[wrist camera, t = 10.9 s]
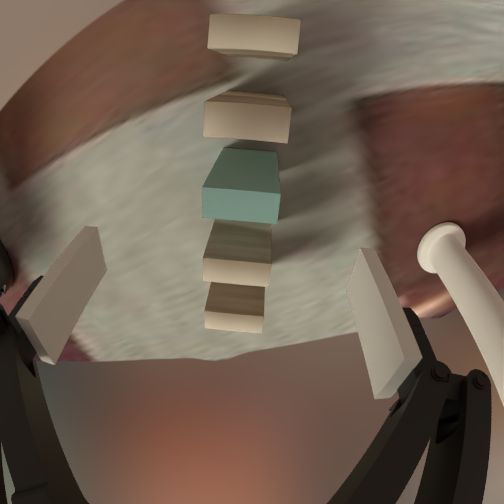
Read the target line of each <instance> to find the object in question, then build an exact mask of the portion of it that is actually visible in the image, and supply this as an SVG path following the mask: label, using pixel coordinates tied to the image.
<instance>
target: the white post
mask: <svg viewBox="0 0 504 504" xmlns="http://www.w3.org/2000/svg"><path fill="white" fill-rule="evenodd" d="M465 244H466V238H465V234H464V232H463V230H462V229H461V228H460V227H459V226H458V225H456V224H454V223H451V222H445V223H441V224H438V225H436V226H434V227H433V228H431V229H430V230H429V231H428V232H427V233H426V234H425V235H424V237H423V238H422V240H421V242H420V244H419V247H418V251H417V258H418V261H419V264H420V265H421V267H422V268H423V269H424V270H425V271H427V272H430V273H438V275H439V277H440V278H441V280H442V282H443V283H444V285H445V286H446V288H447V290H448V292H449V293H450V295H451V297H452V298H453V300H454V302H455V304H456V305H457V307H458V309H459V311H460V313H461V314H462V316H463V318H464V320H465V322H466V323H467V326H468V328H469V329H470V331H471V333H472V335H473V337H474V339H475V341H476V343H477V345H478V348H479V350H480V352H481V354H482V356H483V358H484V360H485V362H486V364H487V367H488V369H489V371H490V373H491V376H492V378H493V381H494V383H495V386H496V388H497V390H498V393H499V395H500V398H501V401H502V403H503V406H504V302H503V300H502V299H501V297H500V296H499V294H498V293H497V291H496V290H495V288H494V287H493V285H492V284H491V283H490V281H489V280H488V278H487V277H486V276H485V274H484V273H483V272H482V270H481V269H480V268H479V266H478V265H477V264H476V262H475V261H474V260H473V258H472V257H471V256H470V255H469V253H468V252H467V251H466V250H465Z"/></svg>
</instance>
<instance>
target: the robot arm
mask: <svg viewBox="0 0 504 504" xmlns="http://www.w3.org/2000/svg"><path fill="white" fill-rule="evenodd" d="M106 271H107V268H106V264H105V260H104V255H103V251H102V246H101V242H100V237H99V232H98V227H91V226H85V227H84V228H83V229H82V231H81V232H80V233H79V234H78V235H77V236H76V237H75V239H74V240H73V241H72V242H71V243H70V244H69V246H68V247H67V248H66V249H65V250H64V252H63V253H62V254H61V255H60V256H59V258H58V259H57V260H56V261H55V263H54V264H53V265H52V266H51V268H50V269H49V270H48V272H47V273H46V274H45V275H44V276H40V277H39V278H37V279H36V280H35V281H33V282H32V284H31V285H30V286H29V288H28V289H27V291H26V292H25V293H24V295H23V297H21V299H20V300H19V301H18V303H17V304H16V306H15V307H14V309H13V310H12V311H11V313H10V314H9V316H8V315H7V313H6V312H5V310H4V308H3V306H2V305H1V304H0V504H7V498H6V491H5V484H4V477H3V468H2V454H1V442H2V446H3V450H4V454H5V458H6V461H7V465H8V468H9V471H10V474H11V477H12V481H13V483H14V487H15V493H14V494H13V495H12V497H11V501H12V504H89V503H88V502H87V501H86V499H85V498H84V496H83V494H82V492H81V490H80V489H79V486H78V484H77V482H76V480H75V478H74V476H73V474H72V471H71V469H70V467H69V464H68V462H67V460H66V457H65V455H64V452H63V450H62V447H61V445H60V442H59V439H58V437H57V434H56V431H55V428H54V425H53V422H52V419H51V416H50V413H49V410H48V407H47V403H46V400H45V396H44V393H43V389H42V385H41V382H40V377H39V373H38V369H37V364H36V362H35V359H34V356H35V354H36V353H37V354H38V356H39V357H40V359H41V360H42V361H44V362H47V363H50V364H53V365H55V363H56V362H57V359H58V357H59V355H60V353H61V351H62V349H63V347H64V345H65V343H66V342H67V340H68V338H69V336H70V334H71V332H72V330H73V328H74V326H75V324H76V323H77V321H78V319H79V317H80V315H81V313H82V312H83V310H84V308H85V306H86V305H87V303H88V301H89V299H90V298H91V296H92V294H93V292H94V291H95V289H96V287H97V286H98V284H99V282H100V281H101V279H102V277H103V276H104V274H105V273H106ZM13 280H14V274H13V268H12V265H11V262H10V259H9V257H8V255H7V252H6V250H5V249H4V247H3V245H2V244H1V242H0V297H1V296H3V295H4V294H5V293H6V292H7V291H8V290H9V288H10V287H11V286H12V284H13ZM346 292H347V295H348V299H349V302H350V305H351V309H352V312H353V316H354V319H355V323H356V326H357V330H358V334H359V337H360V341H361V345H362V349H363V352H364V356H365V360H366V365H367V368H368V372H369V377H370V381H371V385H372V390H373V394H374V399H382V398H391V397H392V396H393V395H394V393H395V392H396V391H397V390H398V394H399V399H398V400H397V401H396V402H395V404H394V405H393V406H392V407H391V408H390V409H389V411H391V412H390V413H389V415H388V417H387V419H386V421H385V422H384V424H383V425H382V427H381V429H380V430H379V432H378V434H377V435H376V437H375V438H374V440H373V441H372V443H371V445H370V446H369V448H368V449H367V451H366V452H365V454H364V455H363V457H362V458H361V460H360V461H359V462H358V464H357V465H356V467H355V468H354V469H353V471H352V472H351V474H350V475H349V476H348V478H347V479H346V480H345V482H344V483H343V484H342V485H341V487H340V488H339V489H338V491H337V492H336V493H335V494H334V496H333V497H332V498H331V499H330V500H329V502H328V503H327V504H395V503H396V502H397V500H398V499H399V497H400V495H401V493H402V492H403V490H404V489H405V487H406V485H407V483H408V481H409V480H410V478H411V476H412V474H413V472H414V470H415V468H416V466H417V465H418V463H419V461H420V459H421V457H422V455H423V453H424V450H425V448H426V446H427V444H428V442H429V440H430V443H429V448H428V453H427V458H426V463H425V466H424V470H423V474H422V478H421V482H420V486H419V489H418V493H417V496H416V499H415V502H414V504H482V501H483V495H484V490H485V484H486V477H487V469H488V460H489V451H490V437H491V383H490V380H489V378H488V376H487V375H486V374H485V373H484V372H482V371H481V370H477V369H474V370H471V371H470V372H469V374H468V375H467V376H462V375H457V374H453V373H451V371H450V369H449V368H448V367H447V366H446V365H445V364H444V363H442V362H440V361H437V360H436V357H435V355H434V352H433V350H432V348H431V345H430V343H429V340H428V338H427V336H426V334H425V331H424V329H423V327H422V325H421V322H420V320H419V318H418V316H417V315H416V314H415V313H414V311H413V310H412V309H411V308H402V306H401V304H400V302H399V300H398V298H397V295H396V293H395V291H394V289H393V287H392V285H391V282H390V280H389V278H388V276H387V274H386V272H385V270H384V268H383V266H382V264H381V262H380V260H379V258H378V256H377V254H376V252H375V250H374V249H367V248H360V250H359V253H358V257H357V260H356V263H355V266H354V269H353V272H352V275H351V278H350V281H349V284H348V287H347V290H346ZM430 437H431V438H430Z"/></svg>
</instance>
